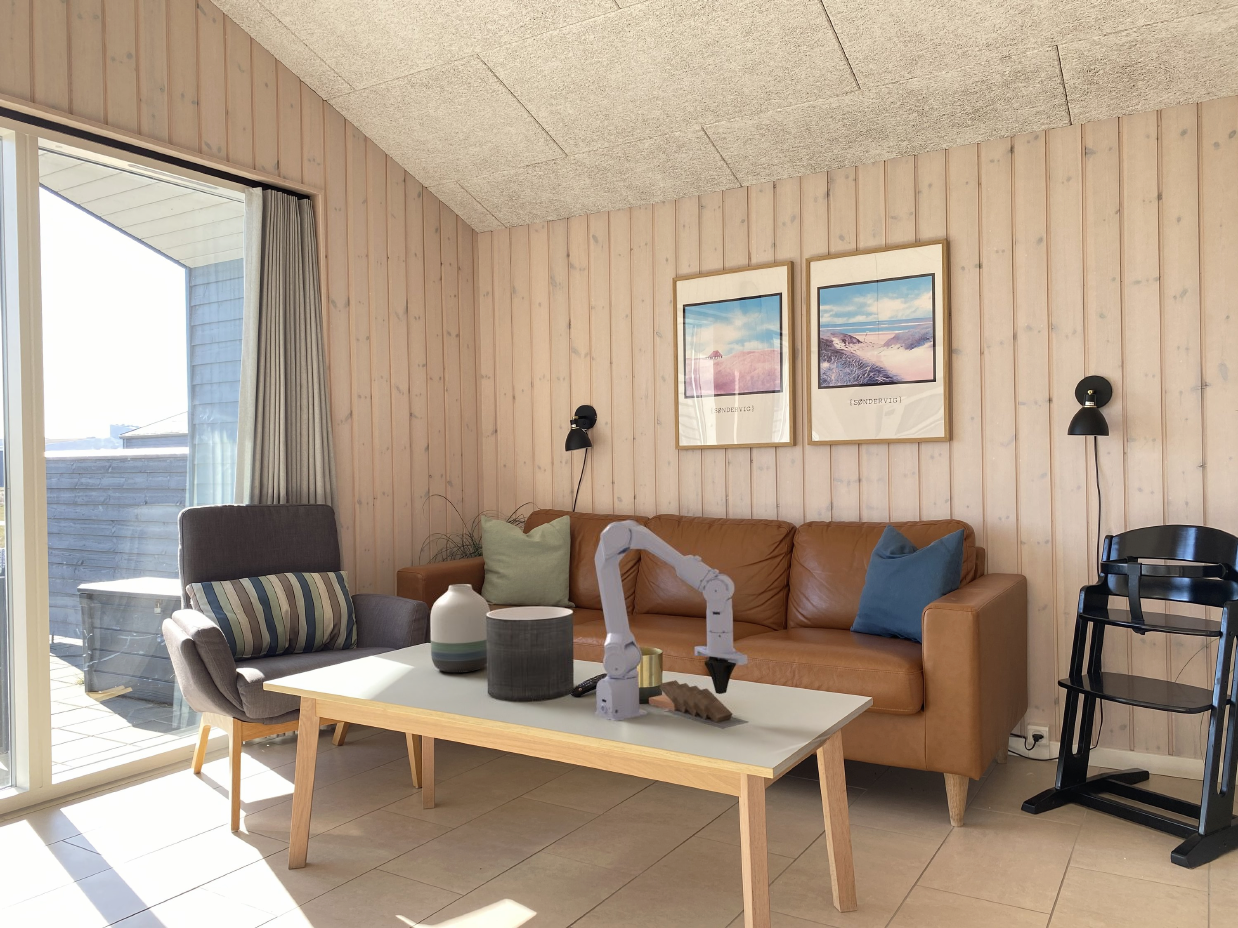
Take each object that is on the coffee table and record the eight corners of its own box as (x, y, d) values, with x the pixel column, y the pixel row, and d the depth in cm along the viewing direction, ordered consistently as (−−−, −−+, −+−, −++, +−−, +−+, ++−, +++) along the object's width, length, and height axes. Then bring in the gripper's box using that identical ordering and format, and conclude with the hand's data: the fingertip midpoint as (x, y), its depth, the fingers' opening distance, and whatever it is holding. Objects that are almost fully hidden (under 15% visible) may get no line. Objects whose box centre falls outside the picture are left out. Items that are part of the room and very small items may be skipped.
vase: (439, 663, 262) (438, 582, 262) (496, 662, 261) (494, 581, 262) (424, 676, 245) (423, 589, 245) (485, 675, 244) (483, 588, 245)
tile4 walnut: (685, 707, 200) (661, 682, 206) (683, 713, 200) (659, 688, 207) (699, 704, 203) (676, 680, 209) (697, 709, 203) (674, 685, 210)
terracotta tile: (674, 703, 203) (648, 697, 210) (674, 710, 203) (649, 704, 210) (688, 700, 206) (662, 694, 213) (688, 707, 206) (663, 701, 213)
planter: (469, 697, 220) (468, 616, 220) (516, 678, 240) (515, 604, 240) (547, 705, 211) (545, 621, 211) (589, 685, 231) (587, 608, 231)
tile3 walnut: (696, 710, 197) (672, 685, 203) (694, 716, 198) (670, 691, 204) (710, 707, 200) (686, 682, 206) (708, 713, 200) (684, 688, 207)
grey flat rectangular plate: (723, 729, 188) (723, 728, 188) (664, 712, 203) (664, 710, 203) (749, 722, 193) (749, 721, 193) (690, 706, 208) (690, 704, 208)
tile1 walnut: (718, 717, 192) (692, 691, 198) (715, 722, 192) (690, 697, 199) (732, 713, 194) (706, 688, 201) (730, 719, 195) (704, 693, 201)
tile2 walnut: (706, 713, 194) (682, 688, 201) (704, 719, 195) (679, 694, 201) (721, 710, 197) (696, 685, 203) (718, 715, 198) (694, 690, 204)
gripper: (756, 632, 191) (758, 695, 191) (709, 624, 202) (711, 684, 202) (733, 636, 187) (735, 701, 186) (687, 628, 198) (688, 689, 198)
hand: (721, 692), depth 194 cm, fingers closed
